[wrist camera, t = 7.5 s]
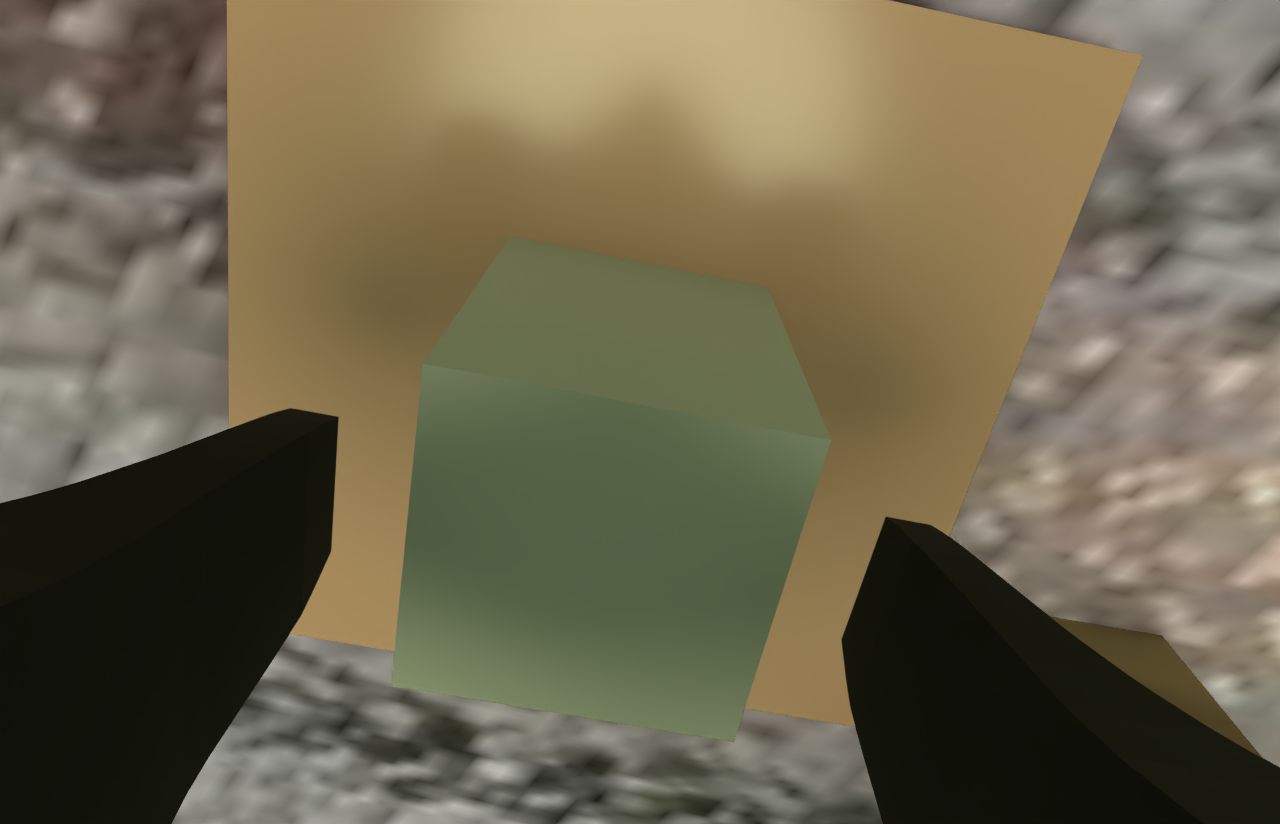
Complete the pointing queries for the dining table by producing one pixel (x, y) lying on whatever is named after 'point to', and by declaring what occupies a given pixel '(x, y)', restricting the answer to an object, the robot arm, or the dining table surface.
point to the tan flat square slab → (657, 233)
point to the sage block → (605, 492)
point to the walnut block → (1157, 672)
